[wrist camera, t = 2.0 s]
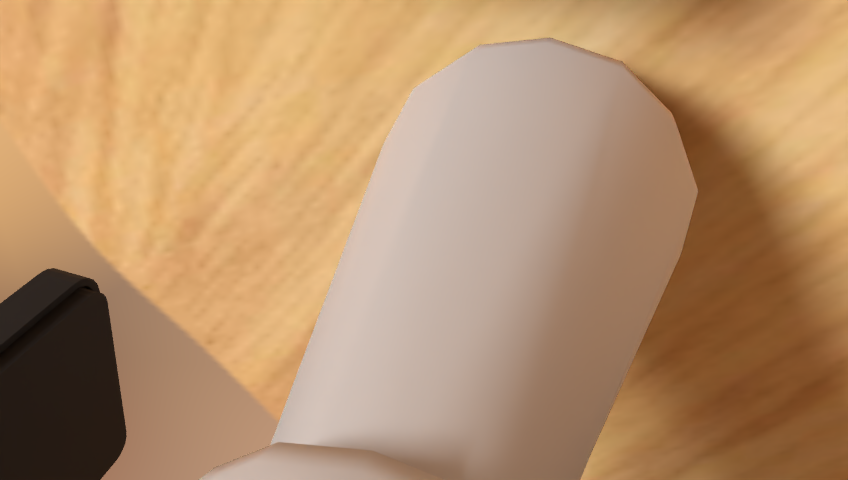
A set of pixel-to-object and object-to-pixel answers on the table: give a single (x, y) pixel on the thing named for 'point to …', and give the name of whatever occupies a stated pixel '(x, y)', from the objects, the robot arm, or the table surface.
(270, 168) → the table surface
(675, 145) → the salt shaker
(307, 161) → the table surface
